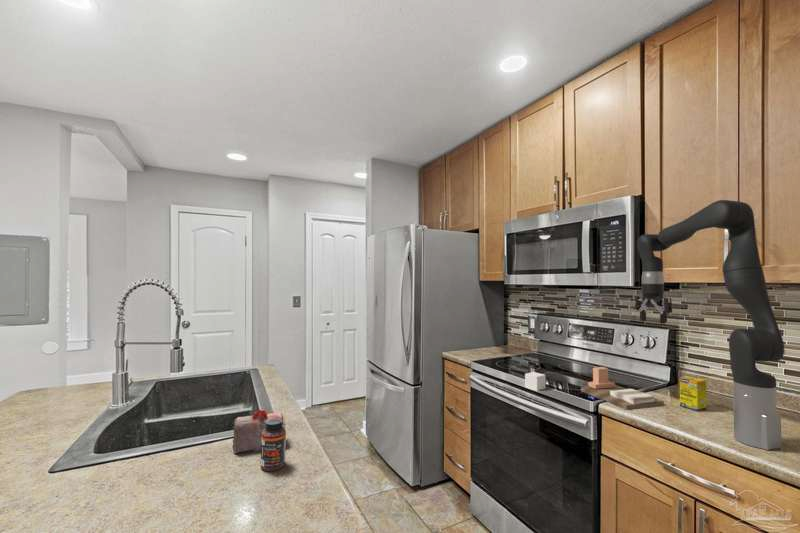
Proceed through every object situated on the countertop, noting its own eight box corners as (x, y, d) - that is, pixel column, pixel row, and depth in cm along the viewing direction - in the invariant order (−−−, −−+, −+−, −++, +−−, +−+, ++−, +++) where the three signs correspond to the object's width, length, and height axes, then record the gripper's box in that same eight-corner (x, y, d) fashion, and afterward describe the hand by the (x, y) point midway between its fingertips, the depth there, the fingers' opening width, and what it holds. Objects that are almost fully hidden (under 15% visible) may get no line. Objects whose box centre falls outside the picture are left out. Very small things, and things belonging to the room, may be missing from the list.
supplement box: (679, 406, 138) (679, 377, 138) (688, 404, 140) (688, 375, 141) (697, 411, 132) (697, 381, 133) (706, 409, 135) (706, 379, 135)
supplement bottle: (261, 474, 89) (261, 427, 89) (259, 462, 94) (260, 418, 94) (286, 469, 91) (287, 423, 91) (284, 458, 97) (284, 415, 97)
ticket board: (663, 405, 139) (663, 395, 139) (626, 409, 134) (626, 399, 134) (615, 387, 160) (614, 379, 160) (581, 391, 155) (581, 382, 155)
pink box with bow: (282, 436, 110) (282, 403, 110) (286, 447, 103) (286, 412, 103) (232, 445, 104) (233, 410, 104) (232, 457, 97) (233, 420, 97)
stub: (614, 387, 156) (614, 368, 156) (595, 388, 153) (595, 370, 153) (607, 384, 159) (607, 366, 160) (588, 386, 157) (588, 367, 157)
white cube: (537, 391, 155) (537, 376, 155) (525, 387, 160) (525, 373, 160) (545, 388, 159) (545, 374, 159) (533, 385, 164) (533, 371, 164)
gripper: (676, 283, 145) (677, 324, 144) (643, 282, 158) (644, 320, 158) (662, 283, 143) (662, 324, 142) (630, 282, 156) (630, 320, 156)
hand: (652, 322), depth 150 cm, fingers open, 8 cm apart
